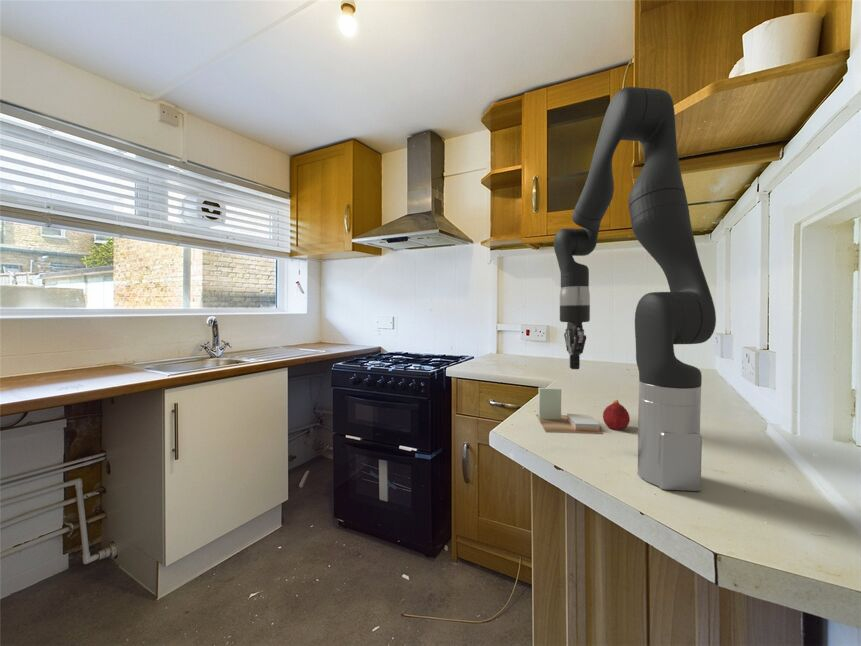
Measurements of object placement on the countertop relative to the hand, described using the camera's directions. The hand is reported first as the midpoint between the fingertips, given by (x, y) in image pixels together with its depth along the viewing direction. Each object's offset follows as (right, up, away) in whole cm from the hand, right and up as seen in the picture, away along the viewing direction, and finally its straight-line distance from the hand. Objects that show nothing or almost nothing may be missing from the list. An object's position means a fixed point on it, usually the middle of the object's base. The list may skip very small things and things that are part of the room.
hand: (574, 368), depth 98 cm
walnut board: (-4, -14, -6) cm, 16 cm away
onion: (+7, -15, -9) cm, 18 cm away
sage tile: (-7, -13, -1) cm, 15 cm away
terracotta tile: (0, -12, -3) cm, 12 cm away
